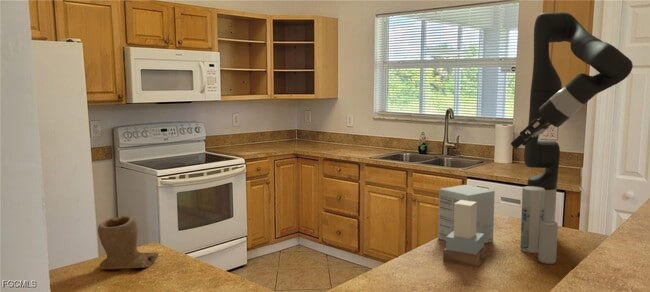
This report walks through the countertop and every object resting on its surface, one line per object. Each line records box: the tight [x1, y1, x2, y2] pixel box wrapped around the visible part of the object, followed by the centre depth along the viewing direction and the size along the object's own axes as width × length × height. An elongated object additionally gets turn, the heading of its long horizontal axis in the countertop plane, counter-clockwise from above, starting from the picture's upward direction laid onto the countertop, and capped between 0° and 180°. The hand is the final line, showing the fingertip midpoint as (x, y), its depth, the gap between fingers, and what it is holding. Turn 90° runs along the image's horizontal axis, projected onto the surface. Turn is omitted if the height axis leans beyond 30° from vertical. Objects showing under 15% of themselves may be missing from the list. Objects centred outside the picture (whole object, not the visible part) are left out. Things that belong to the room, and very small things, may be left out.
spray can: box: [519, 185, 545, 254], centre depth 160 cm, size 6×6×20 cm
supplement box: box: [437, 184, 496, 244], centre depth 171 cm, size 13×13×18 cm
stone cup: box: [97, 215, 159, 270], centre depth 147 cm, size 15×12×15 cm
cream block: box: [454, 200, 477, 239], centre depth 151 cm, size 5×5×10 cm
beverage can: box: [537, 220, 559, 265], centre depth 150 cm, size 5×5×12 cm
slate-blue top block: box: [445, 231, 485, 255], centre depth 152 cm, size 9×9×4 cm
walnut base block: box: [442, 245, 487, 268], centre depth 153 cm, size 10×10×4 cm
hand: (517, 144), depth 149 cm, fingers open, 8 cm apart
